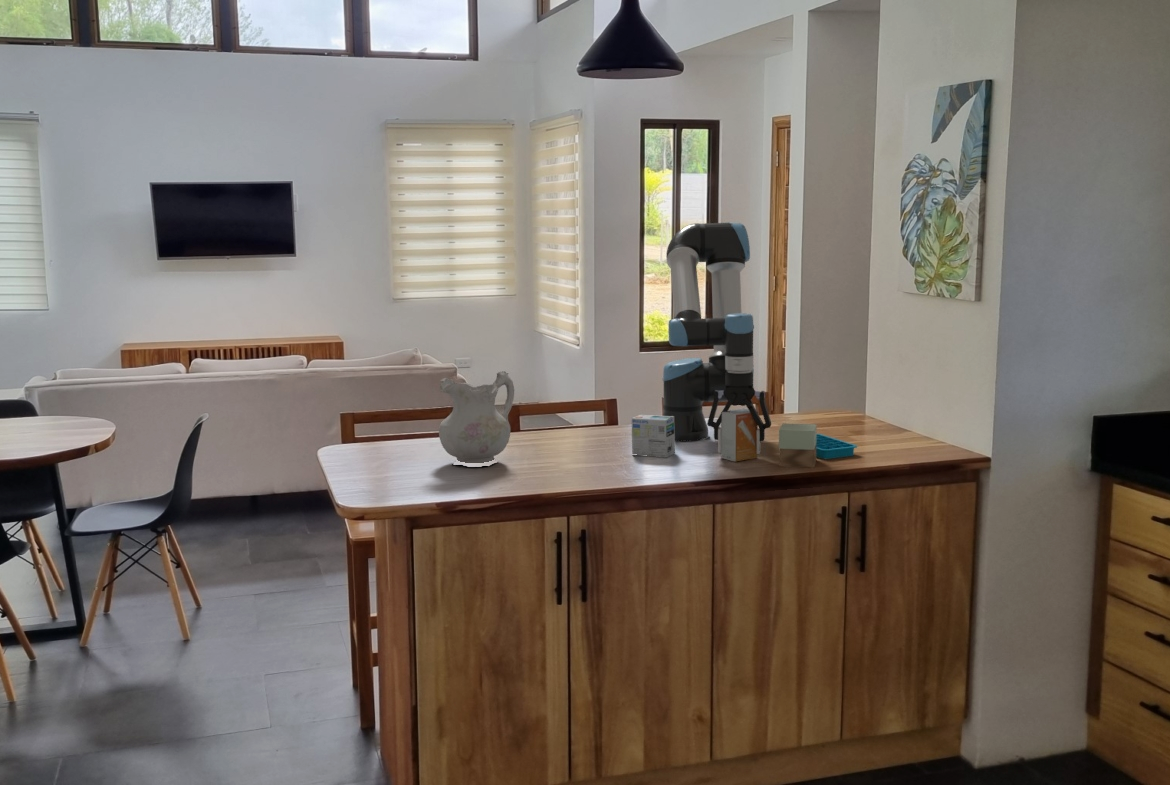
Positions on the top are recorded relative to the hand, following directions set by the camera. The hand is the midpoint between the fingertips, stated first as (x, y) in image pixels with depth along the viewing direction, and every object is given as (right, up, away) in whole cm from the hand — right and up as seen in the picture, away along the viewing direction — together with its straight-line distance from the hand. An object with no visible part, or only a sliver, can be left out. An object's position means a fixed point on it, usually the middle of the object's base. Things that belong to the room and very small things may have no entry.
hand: (739, 452), depth 295 cm
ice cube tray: (+24, -1, +7) cm, 25 cm away
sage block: (+15, +2, -8) cm, 17 cm away
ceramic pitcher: (-71, -3, +2) cm, 71 cm away
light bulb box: (-23, -1, +8) cm, 24 cm away
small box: (0, -2, 0) cm, 2 cm away
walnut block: (+15, -3, -7) cm, 16 cm away
